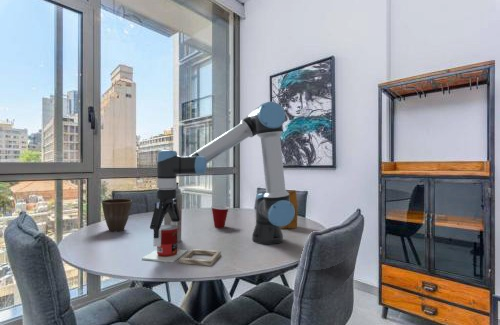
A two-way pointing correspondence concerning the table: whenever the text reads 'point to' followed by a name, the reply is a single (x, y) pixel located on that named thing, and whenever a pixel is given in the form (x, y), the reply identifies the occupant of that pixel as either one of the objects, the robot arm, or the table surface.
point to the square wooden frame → (198, 261)
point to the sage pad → (156, 257)
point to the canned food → (168, 241)
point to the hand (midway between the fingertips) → (165, 241)
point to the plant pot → (116, 213)
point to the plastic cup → (219, 215)
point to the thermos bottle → (179, 203)
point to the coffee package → (294, 202)
